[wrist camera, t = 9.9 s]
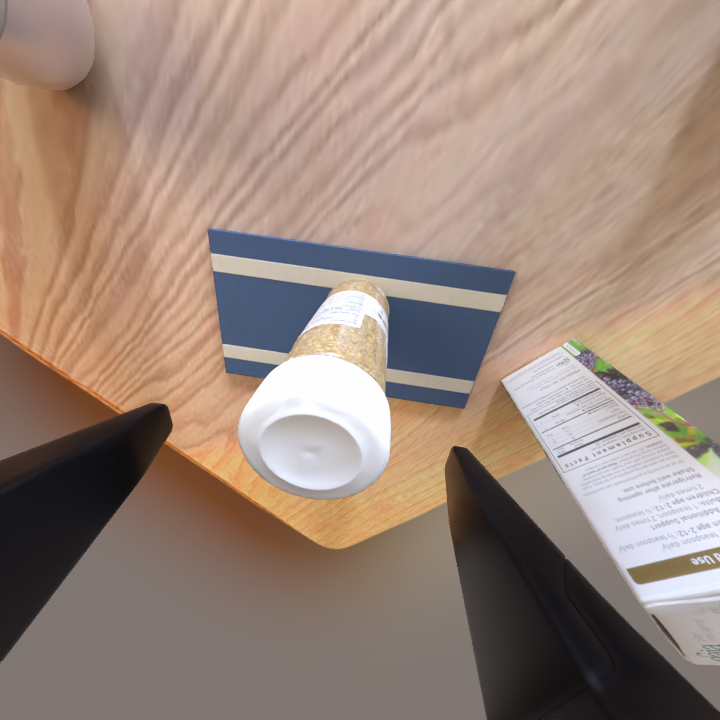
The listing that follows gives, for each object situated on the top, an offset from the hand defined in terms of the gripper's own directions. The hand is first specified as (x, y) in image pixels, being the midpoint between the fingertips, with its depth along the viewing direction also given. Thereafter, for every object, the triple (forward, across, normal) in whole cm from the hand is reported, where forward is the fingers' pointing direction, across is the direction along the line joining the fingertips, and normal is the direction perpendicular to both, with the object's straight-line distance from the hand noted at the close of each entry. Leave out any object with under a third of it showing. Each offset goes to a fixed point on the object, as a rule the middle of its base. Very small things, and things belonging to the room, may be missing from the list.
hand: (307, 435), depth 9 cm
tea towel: (+13, 0, +2) cm, 13 cm away
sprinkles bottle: (+13, 0, 0) cm, 13 cm away
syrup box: (+13, -16, +4) cm, 21 cm away
